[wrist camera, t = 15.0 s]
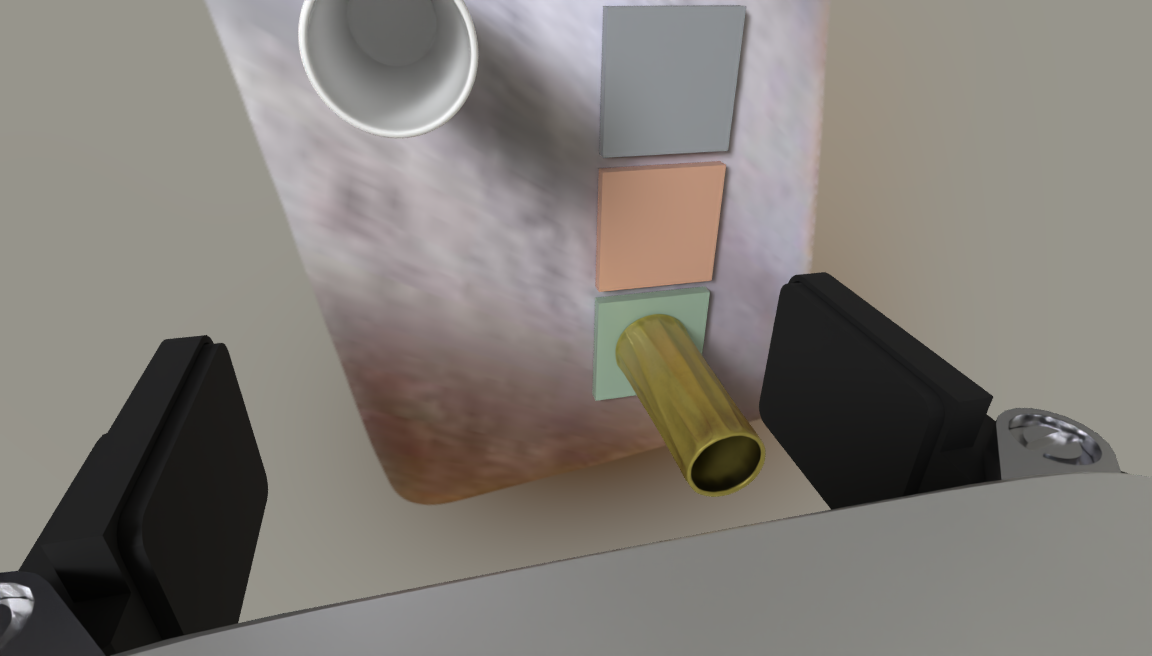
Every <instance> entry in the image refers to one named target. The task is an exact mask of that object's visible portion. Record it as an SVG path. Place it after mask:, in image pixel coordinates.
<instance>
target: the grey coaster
mask: <svg viewBox="0 0 1152 656" xmlns="http://www.w3.org/2000/svg"><path fill="white" fill-rule="evenodd" d="M745 12H746V6H740V5H707V6H603V34H602V70H601V106H600V142H599V154H600V155H601V156H602V157H603V158H608V157H625V156H643V155H661V154H679V153H696V152H714V151H728V146H729V138H730V131H731V123H732V115H733V107H734V99H735V91H736V83H737V75H738V68H739V60H740V52H741V44H742V36H743V28H744V20H745Z"/></svg>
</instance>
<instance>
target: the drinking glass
mask: <svg viewBox="0 0 1152 656" xmlns="http://www.w3.org/2000/svg"><path fill="white" fill-rule="evenodd" d="M298 39H299V49H300V55H301V59H302V63H303V66H304V69H305V71H306V74H307V76H308V78H309V80H310V82H311V84H312V86H313V87H314V89H315V91H316V92H317V94H318V95H319V96H320V98H321V99H322V100H323V101H324V103H325V104H326V105H327V106H328V107H329V108H330V109H331V110H332V111H333V112H334V113H335V114H336V115H338V116H339V117H340V118H341V119H343V120H344V121H346V122H347V123H349V124H351V125H352V126H354V127H356V128H358V129H360V130H362V131H365V132H367V133H370V134H373V135H377V136H382V137H387V138H409V137H415V136H420V135H423V134H426V133H428V132H431V131H433V130H435V129H437V128H439V127H440V126H442V125H443V124H445V123H446V122H448V121H449V120H450V119H451V118H452V117H453V116H454V115H455V114H456V113H457V112H458V111H459V110H460V109H461V107H462V106H463V105H464V103H465V101H466V100H467V98H468V96H469V94H470V92H471V90H472V88H473V85H474V82H475V78H476V74H477V68H478V57H479V54H478V41H477V35H476V30H475V27H474V24H473V20H472V18H471V15H470V13H469V11H468V9H467V7H466V5H465V3H464V1H463V0H305V1H304V3H303V6H302V10H301V14H300V19H299V28H298Z"/></svg>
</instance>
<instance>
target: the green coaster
mask: <svg viewBox="0 0 1152 656" xmlns="http://www.w3.org/2000/svg"><path fill="white" fill-rule="evenodd" d="M709 296H710V292H709V290H708V289H707V288H706V287H695V288H685V289H676V290H666V291H656V292H646V293H637V294H627V295H617V296H608V297H598V298H595V323H594V359H593V396H594V398H595V400H596V401H597V400H604V399H612V398H619V397H626V396H634V395H636V393H635V391H634V390H633V388H632V386H631V385H630V383H629V381H628V380H627V378H626V376H625V375H624V373H623V372H622V371H621V369H620V368H619V367H618V365H617V362H616V355H615V350H616V344H617V342H618V339H619V337H620V336H621V334H622V333H623V331H624V330H625V329H626V328H627V327H628V326H629V325H630V324H632V323H633V322H634V321H636V320H638V319H640V318H642V317H645V316H648V315H653V314H664V315H669V316H672V317H674V318H676V319H677V320H679V321H680V322H681V323H682V324H683V325H684V327H685V328H686V330H687V332H688V334H689V336H690V338H691V340H692V341H693V343H694V344H695V346H696V347H697V349H698V350H699V352H700V353H701V355H702V351H703V343H704V335H705V327H706V320H707V312H708V304H709Z"/></svg>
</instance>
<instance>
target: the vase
mask: <svg viewBox="0 0 1152 656" xmlns="http://www.w3.org/2000/svg"><path fill="white" fill-rule="evenodd" d="M615 355H616V362H617V365H618V367H619V368H620V369H621V371H622V372H623V373H624V375H625V376H626V378H627V380H628V381H629V383H630V385H631V386H632V388H633V390H634V391H635V393H636V395H637V396H638V398H639V399H640V401H641V403H642V404H643V406H644V408H645V409H646V411H647V412H648V414H649V416H650V417H651V419H652V421H653V422H654V424H655V426H656V427H657V429H658V431H659V433H660V434H661V436H662V438H663V440H664V441H665V443H666V445H667V447H668V449H669V450H670V452H671V454H672V456H673V458H674V459H675V461H676V463H677V465H678V466H679V468H680V470H681V472H682V474H683V476H684V478H685V479H686V481H687V482H688V484H689V485H690V486H691V488H692V489H693V490H694V491H695V492H697V493H698V494H701V495H705V496H711V497H716V496H717V497H719V496H724V495H729V494H731V493H734V492H737V491H739V490H740V489H742V488H744V487H745V486H747V485H748V484H749V483H750V482H752V481H753V480H754V479H755V478H756V476H757V475H758V474H759V472H760V470H761V469H762V466H763V464H764V461H765V447H764V444H763V443H762V441H761V439H760V438H759V436H758V435H757V434H756V432H755V431H754V429H753V428H752V427H751V425H750V424H749V422H748V421H747V420H746V418H745V417H744V416H743V414H742V413H741V411H740V410H739V409H738V407H737V406H736V405H735V403H734V402H733V400H732V399H731V397H730V396H729V394H728V393H727V391H726V390H725V388H724V387H723V385H722V384H721V382H720V381H719V379H718V378H717V377H716V375H715V374H714V372H713V371H712V370H711V368H710V367H709V365H708V364H707V362H706V361H705V359H704V358H703V356H702V355H701V353H700V352H699V350H698V349H697V347H696V346H695V344H694V343H693V341H692V340H691V338H690V336H689V334H688V332H687V330H686V328H685V327H684V325H683V324H682V323H681V322H680V321H679V320H677V319H676V318H674V317H672V316H669V315H664V314H653V315H648V316H645V317H642V318H640V319H638V320H636V321H634V322H633V323H632V324H630V325H629V326H628V327H627V328H626V329H625V330H624V331H623V333H622V334H621V336H620V337H619V339H618V342H617V344H616V350H615Z"/></svg>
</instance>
